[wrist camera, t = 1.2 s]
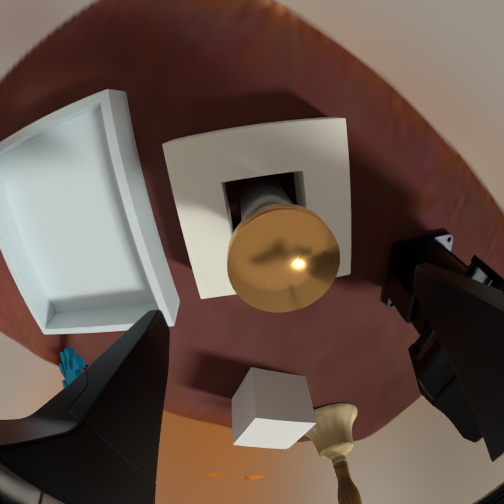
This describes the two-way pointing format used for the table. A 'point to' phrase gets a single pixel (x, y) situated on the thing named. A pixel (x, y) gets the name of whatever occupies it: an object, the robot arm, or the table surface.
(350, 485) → the hand bell
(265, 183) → the lock pin
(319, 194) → the white square hole block
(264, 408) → the white cube
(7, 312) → the table surface
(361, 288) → the table surface
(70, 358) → the gear
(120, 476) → the robot arm
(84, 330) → the parts tray
